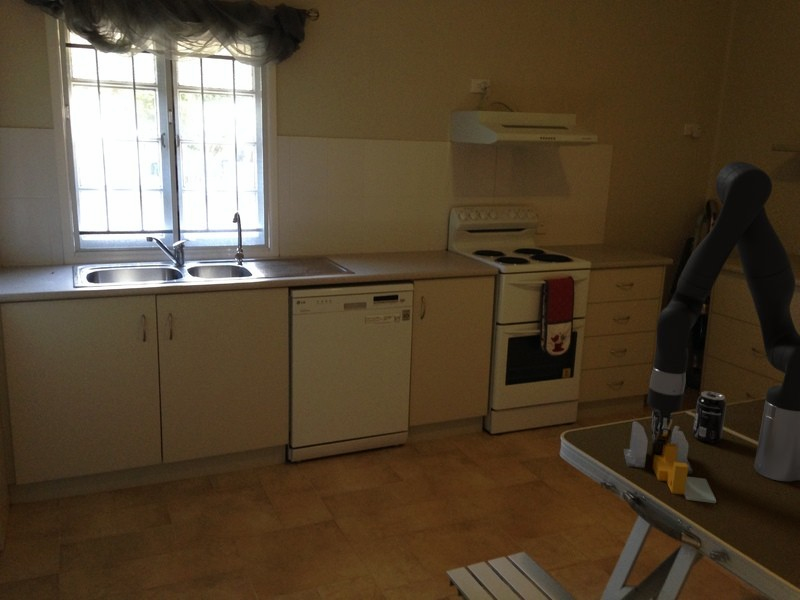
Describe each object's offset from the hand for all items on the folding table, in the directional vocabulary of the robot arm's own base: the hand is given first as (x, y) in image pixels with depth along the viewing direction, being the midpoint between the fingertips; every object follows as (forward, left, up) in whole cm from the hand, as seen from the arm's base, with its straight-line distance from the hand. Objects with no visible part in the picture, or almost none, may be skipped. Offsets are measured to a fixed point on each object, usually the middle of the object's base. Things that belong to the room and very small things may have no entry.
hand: (656, 456), depth 169 cm
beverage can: (-16, -19, -2) cm, 25 cm away
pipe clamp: (-2, +8, -2) cm, 8 cm away
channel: (-1, -3, -2) cm, 4 cm away
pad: (-7, +11, -2) cm, 13 cm away
